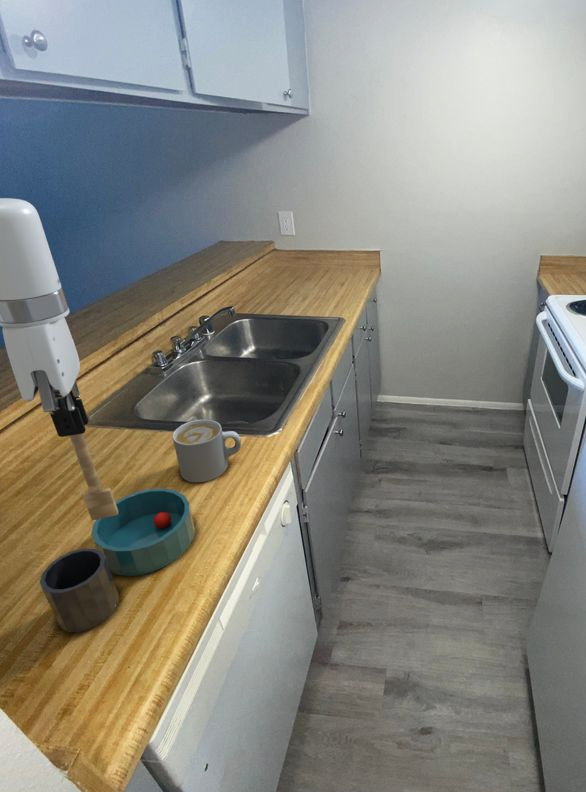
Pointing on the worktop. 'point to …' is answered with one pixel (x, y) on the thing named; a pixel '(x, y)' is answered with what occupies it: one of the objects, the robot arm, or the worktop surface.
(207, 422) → the coffee mug
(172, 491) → the bowl
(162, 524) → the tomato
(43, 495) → the worktop surface
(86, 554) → the crock
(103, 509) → the paddle
